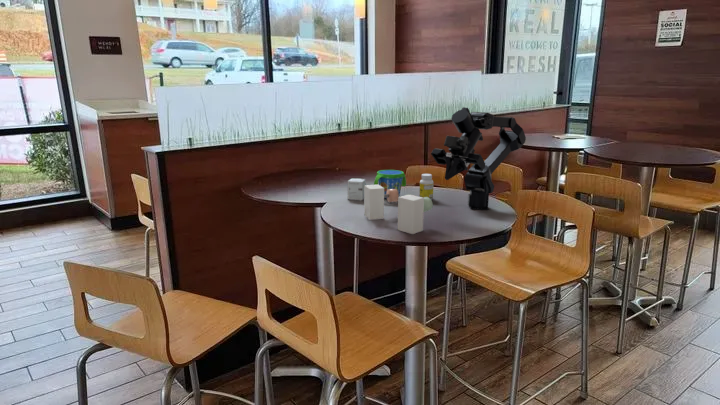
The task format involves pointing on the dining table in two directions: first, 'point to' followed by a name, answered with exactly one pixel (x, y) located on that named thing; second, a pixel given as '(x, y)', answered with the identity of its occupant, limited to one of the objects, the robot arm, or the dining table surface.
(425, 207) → the sage button
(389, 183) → the snack cup
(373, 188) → the white tall block
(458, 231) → the dining table surface
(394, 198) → the terracotta button
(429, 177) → the supplement bottle
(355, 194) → the skincare box
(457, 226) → the dining table surface
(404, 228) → the sage button housing
